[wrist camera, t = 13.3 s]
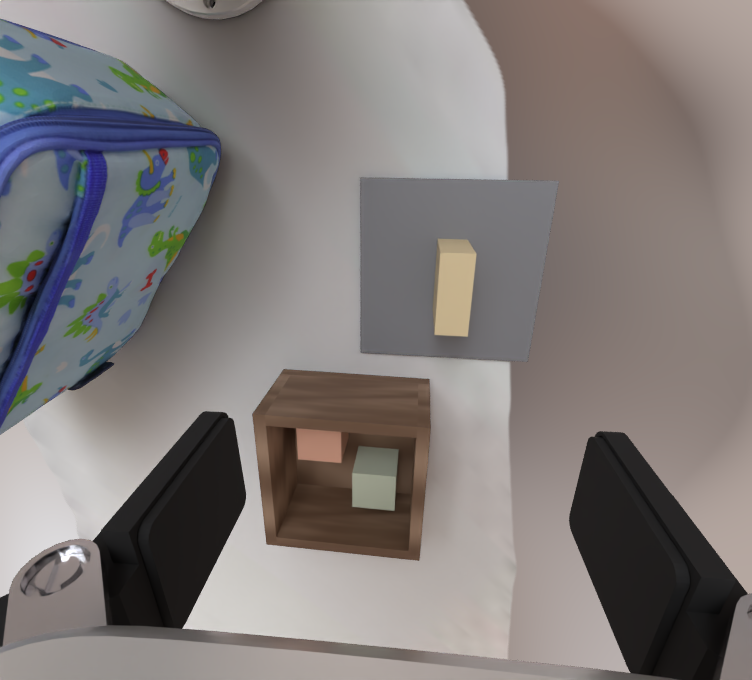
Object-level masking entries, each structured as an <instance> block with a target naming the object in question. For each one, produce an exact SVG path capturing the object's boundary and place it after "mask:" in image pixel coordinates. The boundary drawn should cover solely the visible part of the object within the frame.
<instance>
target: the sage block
mask: <svg viewBox="0 0 752 680" xmlns="http://www.w3.org/2000/svg"><path fill="white" fill-rule="evenodd" d="M398 451H399V449H389V448H377V447H365V446H359V447H358V451H357V455H356V459H355V464H354V468H353V472H352V507H360V508H370V509H381V510H391V511H394V510H395V499H396V487H397V471H398Z"/></svg>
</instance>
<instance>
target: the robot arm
mask: <svg viewBox="0 0 752 680" xmlns="http://www.w3.org/2000/svg"><path fill="white" fill-rule="evenodd" d="M166 1H167V2H168V3H170V4H171V5H173V6H175V7H176V8H178V9H180V10H182V11H184V12H186V13H188V14H190V15H194V16H197V17H201V18H204V19H226V18H231V17H236V16H238V15H241V14H243V13H245V12H247V11H249V10H251V9H253V8H254V7H255V6H256V5H258V4H259V3H260V2H262V1H263V0H166ZM213 2H215V6H214V7H212V4H213ZM245 500H246V491H245V485H244V479H243V473H242V467H241V461H240V455H239V449H238V443H237V437H236V431H235V425H234V421H233V419H232V418H228V415H227V414H226V413H225V412H208V411H205V412H202V413H201V414H200V415H199V417H198V418H197V419H196V420H195V421H194V422H193V424H192V425H191V426H190V427H189V428H188V429H187V431H186V432H185V433H184V434H183V435H182V436H181V438H180V439H179V440H178V441H177V442H176V443H175V445H174V446H173V447H172V448H171V449H170V450H169V452H168V453H167V454H166V455H165V456H164V457H163V459H162V460H161V461H160V462H159V463H158V464H157V466H156V467H155V468H154V469H153V470H152V471H151V473H150V474H149V475H148V476H147V477H146V478H145V480H144V481H143V482H142V483H141V484H140V485H139V487H138V488H137V489H136V490H135V491H134V492H133V494H132V495H131V496H130V497H129V498H128V499H127V501H126V502H125V503H124V504H123V505H122V507H121V508H120V509H119V510H118V511H117V512H116V514H115V515H114V516H113V517H112V518H111V519H110V521H109V522H108V523H107V524H106V525H105V526H104V528H103V529H102V530H101V532H100V533H99V534H98V536H97V537H96V538H95V539H94V540H93V541H91V540H86V539H75V540H68V541H65V542H62V543H59V544H56V545H54V546H52V547H50V548H48V549H46V550H44V551H42V552H41V553H39V554H38V555H37V556H35V557H34V558H32V559H31V560H30V561H29V562H28V563H26V565H24V566H23V567H22V568H21V569H20V571H19V572H18V574H17V575H16V576H15V578H14V579H13V581H12V584H11V587H10V590H9V594H7V595H5V596H3V597H1V598H0V680H752V594H747V592H746V591H745V590H744V588H743V587H742V586H741V584H740V583H739V582H738V580H737V579H736V578H735V577H734V575H733V574H732V573H731V571H730V570H729V569H728V567H727V566H726V565H725V563H724V562H723V561H722V559H721V558H720V557H719V555H718V554H717V553H716V551H715V550H714V549H713V548H712V546H711V545H710V544H709V542H708V541H707V540H706V538H705V537H704V536H703V534H702V533H701V532H700V531H699V529H698V528H697V527H696V525H695V524H694V523H693V521H692V520H691V519H690V517H689V516H688V515H687V513H686V512H685V511H684V509H683V508H682V507H681V505H680V504H679V503H678V502H677V500H676V499H675V498H674V496H673V495H672V494H671V493H670V492H669V491H668V489H667V488H666V487H665V486H664V484H663V483H662V481H661V480H660V479H659V477H658V476H657V475H656V473H655V472H654V471H653V469H652V468H651V467H650V465H649V464H648V463H647V462H646V460H645V459H644V458H643V456H642V455H641V454H640V452H639V451H638V450H637V448H636V447H635V446H634V444H633V443H632V442H631V441H630V439H629V438H628V436H627V435H626V434H625V433H621V432H601V431H600V432H598V433H597V434H596V435H595V437H590V438H589V439H588V442H587V446H586V450H585V454H584V458H583V463H582V466H581V471H580V475H579V479H578V483H577V487H576V491H575V495H574V499H573V503H572V507H571V511H570V517H569V522H570V529H571V531H572V534H573V536H574V539H575V541H576V544H577V546H578V549H579V551H580V554H581V556H582V558H583V561H584V563H585V565H586V568H587V570H588V573H589V575H590V578H591V580H592V583H593V585H594V587H595V590H596V592H597V595H598V597H599V599H600V602H601V604H602V606H603V609H604V612H605V614H606V616H607V619H608V621H609V623H610V626H611V629H612V631H613V633H614V636H615V638H616V641H617V643H618V645H619V648H620V650H621V653H622V655H623V657H624V660H625V662H626V665H627V667H628V669H629V671H630V672H631V673H625V672H616V671H608V670H600V669H591V668H583V667H574V666H564V665H554V664H544V663H535V662H525V661H516V660H506V659H497V658H487V657H478V656H468V655H458V654H448V653H438V652H428V651H418V650H408V649H398V648H388V647H377V646H367V645H357V644H346V643H336V642H326V641H315V640H304V639H294V638H283V637H272V636H261V635H250V634H239V633H228V632H218V631H205V630H191V629H182V628H183V626H184V625H185V623H186V621H187V619H188V617H189V615H190V613H191V611H192V609H193V607H194V605H195V603H196V601H197V599H198V597H199V595H200V593H201V591H202V589H203V587H204V585H205V583H206V581H207V579H208V577H209V575H210V573H211V571H212V569H213V567H214V565H215V563H216V561H217V559H218V557H219V555H220V553H221V551H222V549H223V547H224V545H225V543H226V541H227V539H228V537H229V535H230V533H231V531H232V529H233V528H234V526H235V524H236V522H237V520H238V518H239V516H240V514H241V512H242V510H243V507H244V505H245Z"/></svg>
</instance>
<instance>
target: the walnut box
mask: <svg viewBox="0 0 752 680" xmlns="http://www.w3.org/2000/svg"><path fill="white" fill-rule="evenodd" d="M253 424H254V433H255V442H256V451H257V461H258V470H259V479H260V488H261V498H262V507H263V516H264V525H265V535H266V544H268V545H278V546H287V547H297V548H306V549H315V550H325V551H334V552H343V553H353V554H362V555H371V556H381V557H390V558H399V559H409V560H418V561H419V558H420V546H421V535H422V523H423V511H424V499H425V488H426V476H427V464H428V453H429V441H430V429H431V424H430V390H429V379H419V378H405V377H390V376H375V375H360V374H346V373H331V372H316V371H302V370H287V369H284V370H283V371H282V373H281V374H280V375H279V377H278V378H277V380H276V381H275V383H274V384H273V385H272V387H271V388H270V390H269V391H268V393H267V394H266V396H265V397H264V398H263V400H262V401H261V403H260V404H259V406H258V407H257V408H256V410H255V411H254V413H253ZM296 428H299V429H311V430H324V431H336V432H348V433H349V438H348V441H347V445H346V448H345V452H344V455H343V459H342V463H334V462H323V461H312V460H300V459H298V450H297V434H296ZM359 446H365V447H377V448H389V449H399V451H398V471H397V487H396V499H395V510H394V511H391V510H381V509H370V508H360V507H352V472H353V468H354V464H355V459H356V455H357V451H358V447H359Z"/></svg>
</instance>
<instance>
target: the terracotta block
mask: <svg viewBox="0 0 752 680" xmlns="http://www.w3.org/2000/svg"><path fill="white" fill-rule="evenodd" d="M296 434H297V450H298V459H300V460H312V461H323V462H334V463H342V459H343V455H344V452H345V448H346V445H347V441H348V438H349V433H348V432H336V431H324V430H311V429H299V428H296Z"/></svg>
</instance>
